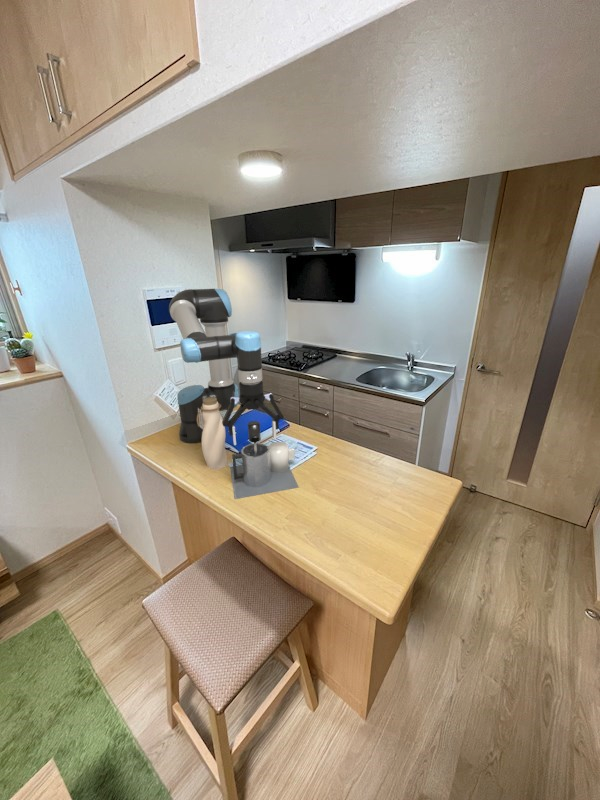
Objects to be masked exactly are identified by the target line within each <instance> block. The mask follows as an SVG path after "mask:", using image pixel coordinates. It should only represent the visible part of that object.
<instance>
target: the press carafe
mask: <svg viewBox="0 0 600 800" xmlns="http://www.w3.org/2000/svg"><path fill="white" fill-rule="evenodd" d="M240 450H241V451H240V453H234V454H233V453H232V454H231V458H232V466H233V471H234V479H235V480H236V479H240V478H244V483H245V484H246V485H248V486H249V487H262V486H265V485H266V484H268V483H269V482H270V480H271V462H270V449H269V445H267V444H266V443H260V442H257V456H254V443H249V444H247V445H245V446H243V447H242V449H240ZM240 459H241V462H242V464H241V465H243V473H240V474H237V469H236V466H237V460H240Z"/></svg>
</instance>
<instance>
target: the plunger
mask: <svg viewBox="0 0 600 800" xmlns="http://www.w3.org/2000/svg"><path fill="white" fill-rule="evenodd" d="M247 431H248V442H250V443H253V444H254V456H257V443H259V442H260V441H261V423H260V421H257V420H253V421H250V422H248V423H247Z"/></svg>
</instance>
